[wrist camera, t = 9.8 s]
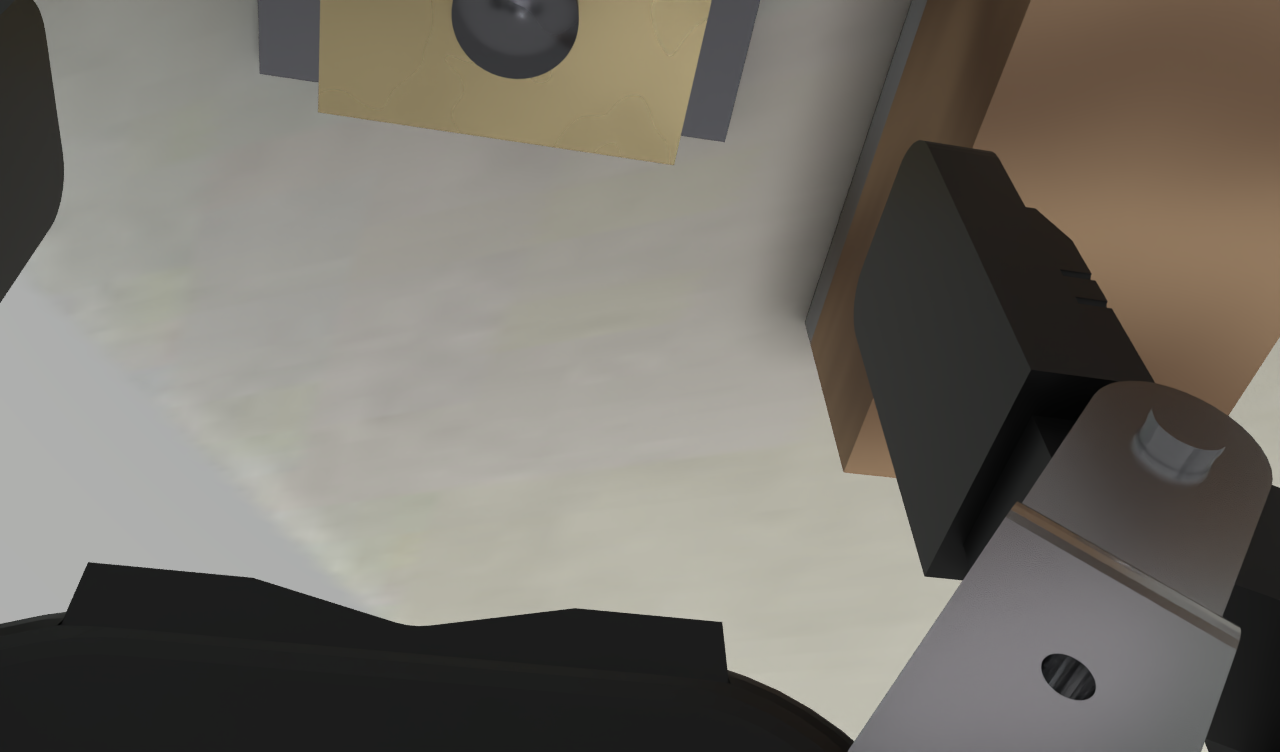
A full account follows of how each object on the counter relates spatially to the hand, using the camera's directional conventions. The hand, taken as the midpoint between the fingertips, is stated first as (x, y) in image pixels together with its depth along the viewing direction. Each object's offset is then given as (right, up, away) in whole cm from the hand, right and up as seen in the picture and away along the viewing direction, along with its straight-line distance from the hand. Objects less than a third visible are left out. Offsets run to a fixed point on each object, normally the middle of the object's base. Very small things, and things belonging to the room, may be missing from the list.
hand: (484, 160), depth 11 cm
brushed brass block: (0, +7, +9) cm, 11 cm away
